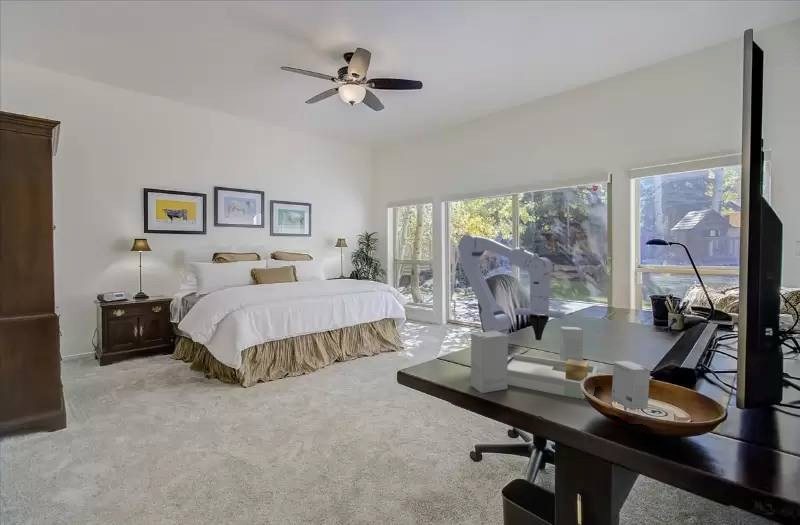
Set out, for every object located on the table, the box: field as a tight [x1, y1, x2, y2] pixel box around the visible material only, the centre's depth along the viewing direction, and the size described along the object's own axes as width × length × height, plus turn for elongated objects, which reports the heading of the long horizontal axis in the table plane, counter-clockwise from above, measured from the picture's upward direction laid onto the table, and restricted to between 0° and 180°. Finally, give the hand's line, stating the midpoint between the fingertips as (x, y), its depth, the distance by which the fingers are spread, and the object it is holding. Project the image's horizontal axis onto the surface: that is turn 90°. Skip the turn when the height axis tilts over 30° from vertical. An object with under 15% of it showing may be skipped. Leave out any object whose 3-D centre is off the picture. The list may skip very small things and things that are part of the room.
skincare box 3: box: [610, 360, 651, 410], centre depth 81 cm, size 6×4×12 cm
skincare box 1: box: [470, 331, 509, 394], centre depth 99 cm, size 8×6×15 cm
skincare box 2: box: [559, 326, 584, 362], centre depth 121 cm, size 6×4×12 cm
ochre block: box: [566, 359, 589, 381], centre depth 101 cm, size 5×5×4 cm
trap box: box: [507, 353, 599, 400], centre depth 105 cm, size 24×18×4 cm
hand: (538, 339), depth 115 cm, fingers closed
